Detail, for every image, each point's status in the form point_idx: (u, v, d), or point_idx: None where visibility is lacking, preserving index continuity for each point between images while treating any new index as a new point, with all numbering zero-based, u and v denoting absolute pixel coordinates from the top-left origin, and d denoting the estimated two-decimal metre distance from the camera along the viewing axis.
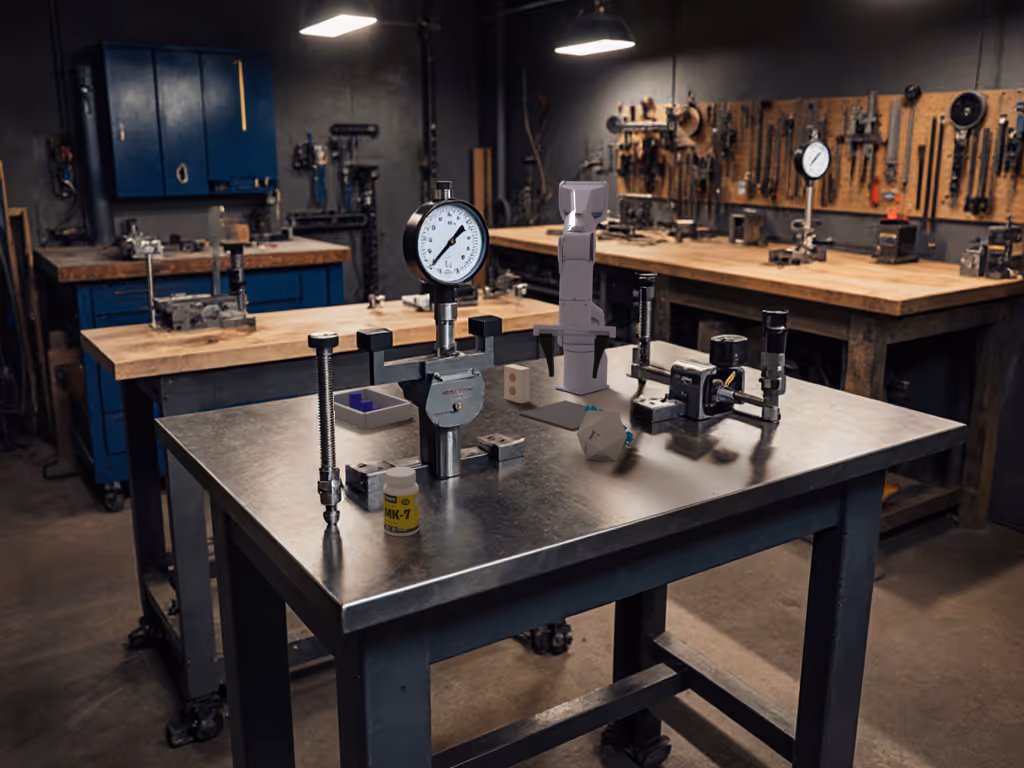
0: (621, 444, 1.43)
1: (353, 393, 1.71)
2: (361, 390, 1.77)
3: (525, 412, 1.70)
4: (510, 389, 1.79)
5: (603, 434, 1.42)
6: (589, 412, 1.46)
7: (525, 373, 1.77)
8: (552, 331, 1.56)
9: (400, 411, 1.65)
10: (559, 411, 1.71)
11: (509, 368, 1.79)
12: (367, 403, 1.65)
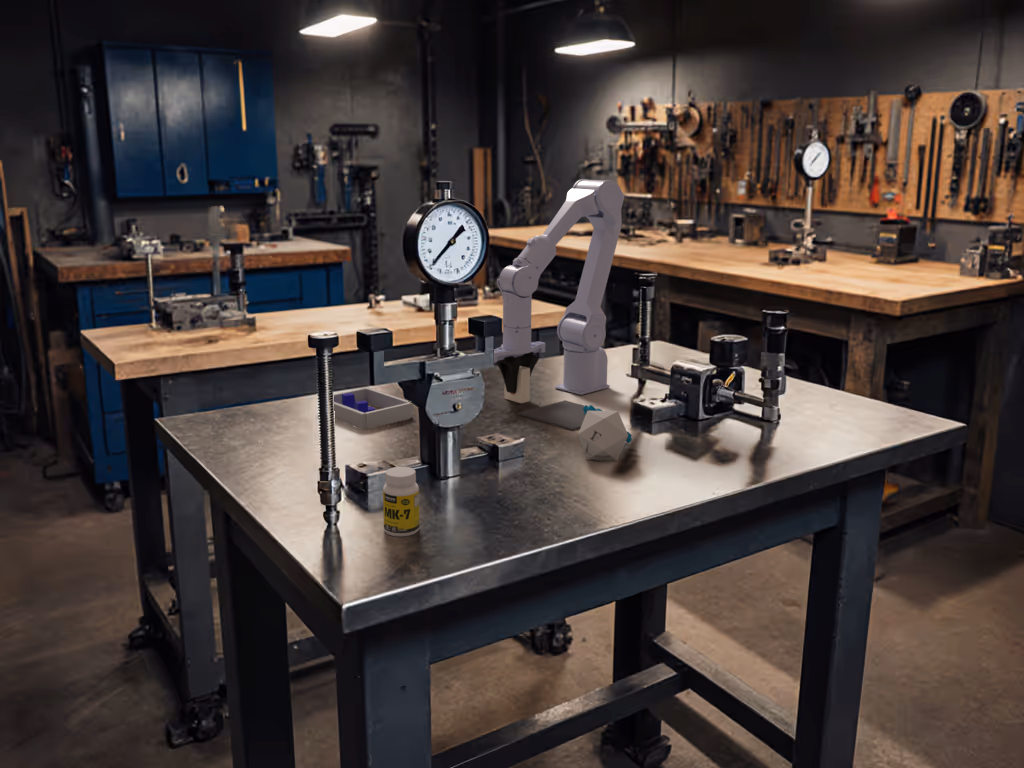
0: (622, 444, 1.43)
1: (346, 394, 1.70)
2: (361, 390, 1.77)
3: (525, 412, 1.70)
4: None
5: (605, 434, 1.42)
6: (589, 412, 1.46)
7: (525, 373, 1.77)
8: None
9: (400, 411, 1.65)
10: (559, 411, 1.71)
11: None
12: (362, 404, 1.64)
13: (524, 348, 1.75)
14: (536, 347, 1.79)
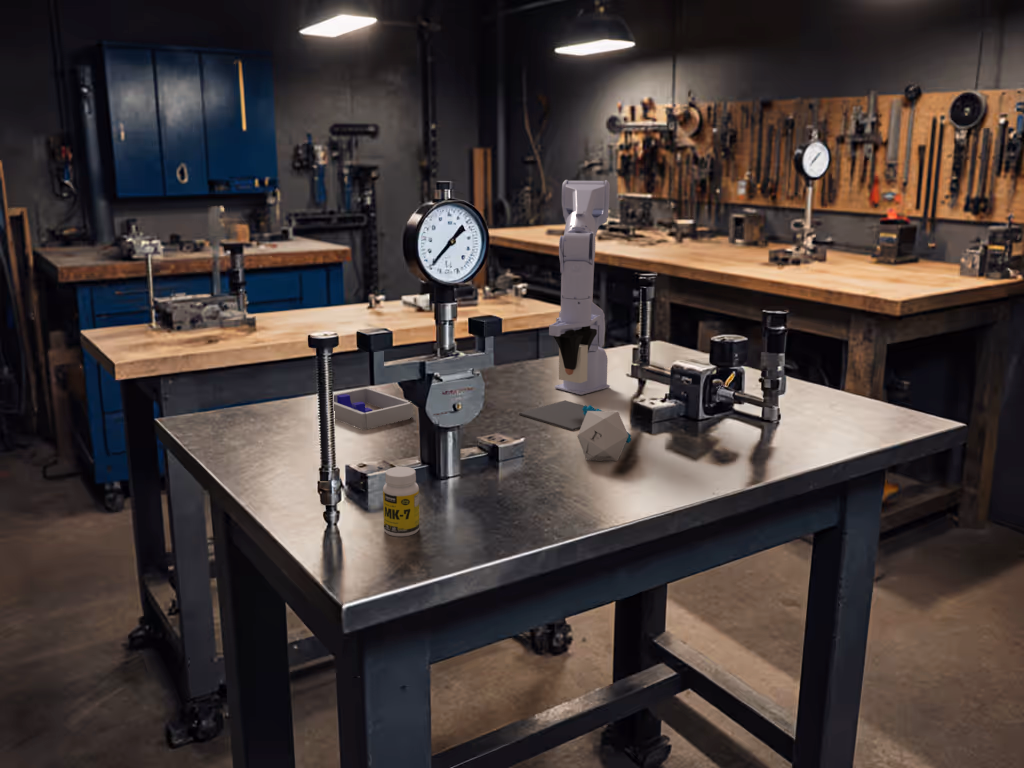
0: (623, 444, 1.43)
1: (342, 396, 1.69)
2: (361, 390, 1.77)
3: (525, 412, 1.70)
4: None
5: (605, 435, 1.42)
6: (589, 413, 1.45)
7: (584, 350, 1.66)
8: None
9: (400, 411, 1.65)
10: (559, 411, 1.71)
11: None
12: (360, 405, 1.64)
13: (586, 320, 1.64)
14: (594, 320, 1.68)
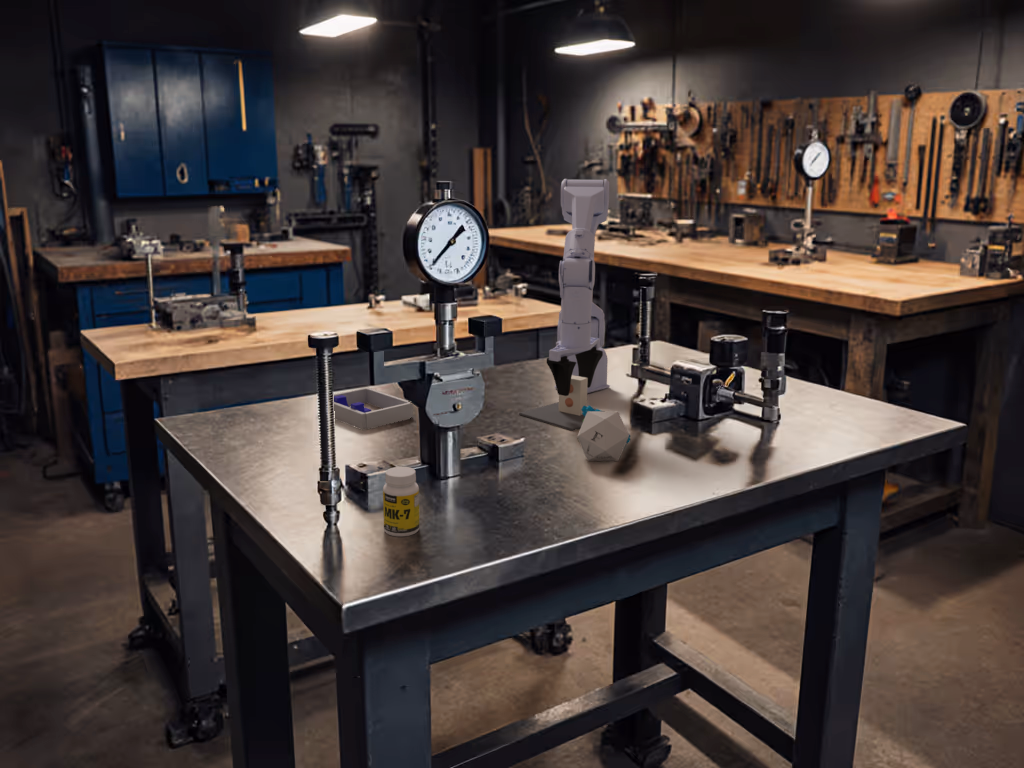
0: (623, 444, 1.43)
1: (338, 397, 1.68)
2: (361, 390, 1.77)
3: (525, 412, 1.70)
4: (566, 401, 1.70)
5: (606, 435, 1.42)
6: (589, 413, 1.45)
7: (584, 383, 1.68)
8: None
9: (400, 411, 1.65)
10: (559, 411, 1.71)
11: None
12: (359, 405, 1.63)
13: (585, 345, 1.65)
14: (594, 343, 1.69)
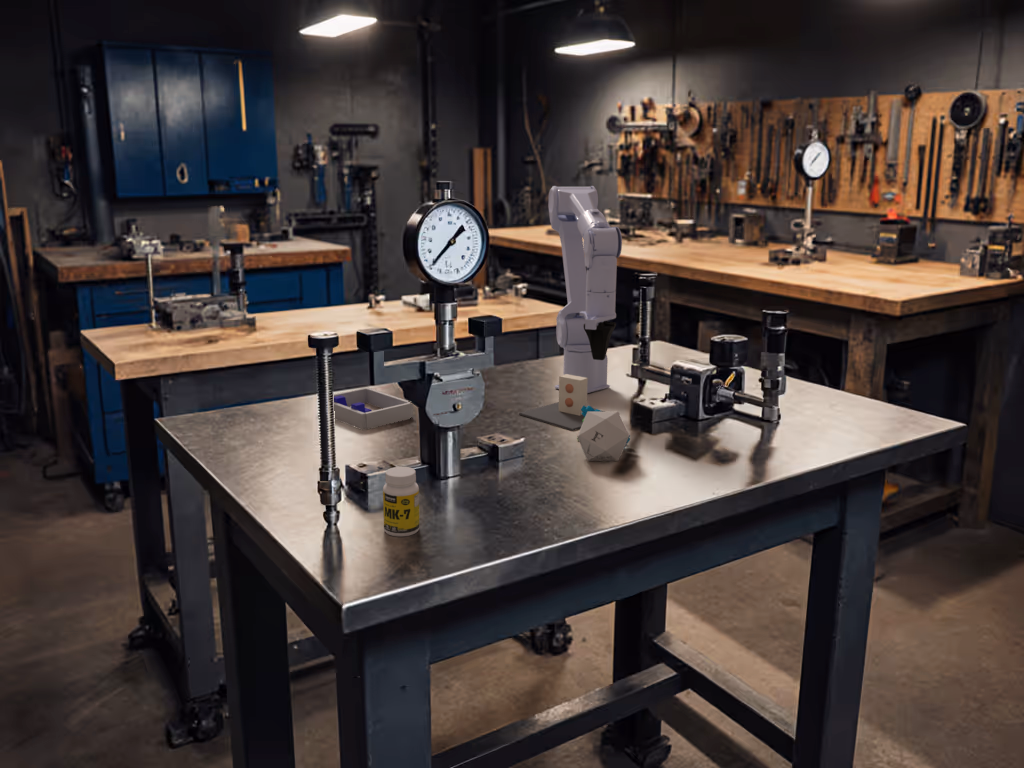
0: (624, 444, 1.43)
1: (337, 397, 1.68)
2: (361, 390, 1.77)
3: (525, 412, 1.70)
4: (566, 401, 1.70)
5: (607, 435, 1.41)
6: (589, 413, 1.45)
7: (584, 383, 1.68)
8: None
9: (400, 411, 1.65)
10: (559, 411, 1.71)
11: (565, 378, 1.69)
12: (360, 406, 1.63)
13: (613, 313, 1.69)
14: None
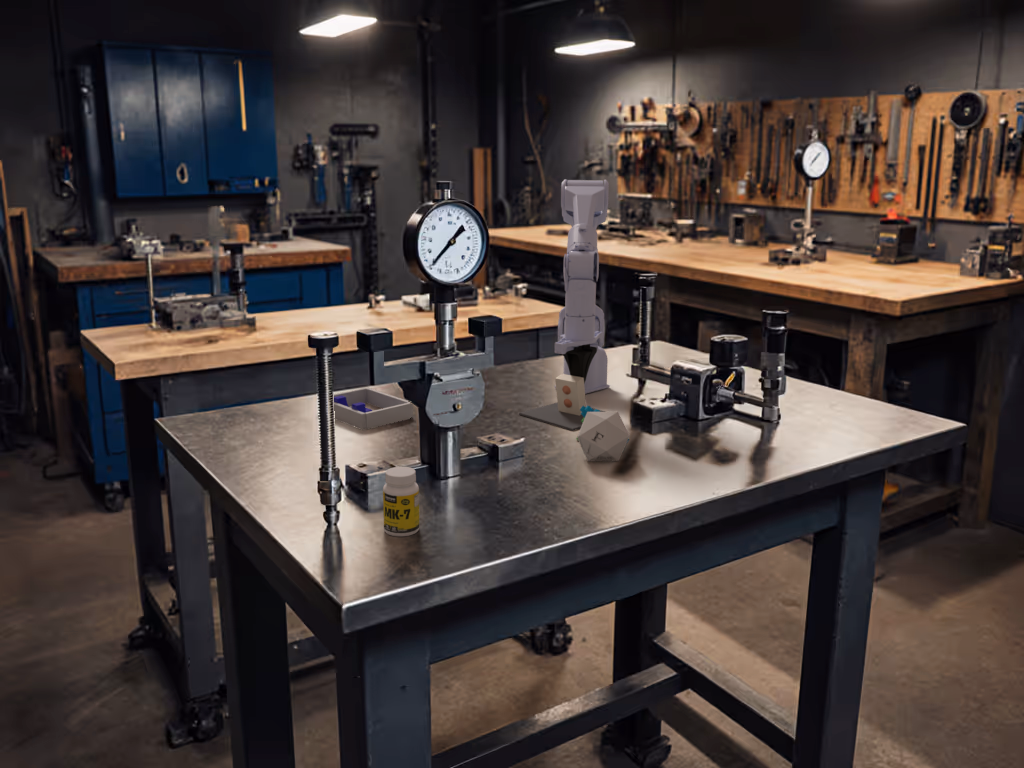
0: (624, 444, 1.43)
1: (338, 397, 1.68)
2: (361, 390, 1.77)
3: (525, 412, 1.70)
4: (565, 402, 1.69)
5: (607, 435, 1.41)
6: (589, 413, 1.45)
7: (580, 384, 1.67)
8: None
9: (400, 411, 1.65)
10: (559, 411, 1.71)
11: (561, 381, 1.68)
12: (360, 406, 1.63)
13: (590, 338, 1.66)
14: (597, 337, 1.70)
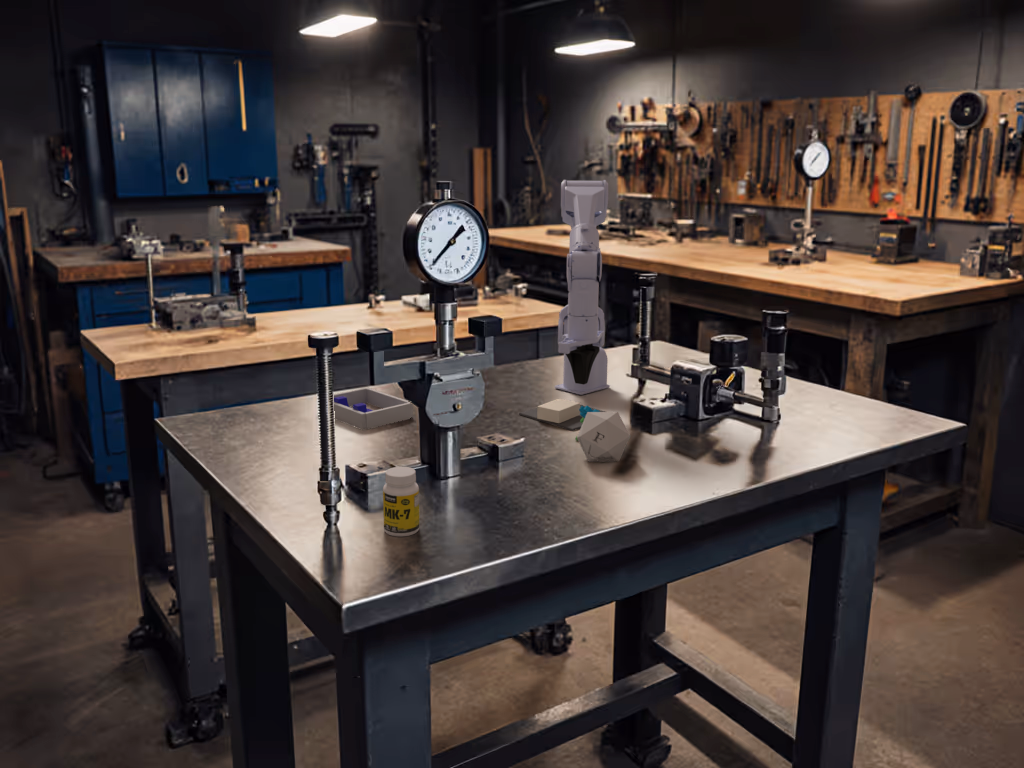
0: (625, 444, 1.43)
1: (338, 398, 1.68)
2: (361, 390, 1.77)
3: (525, 412, 1.70)
4: None
5: (608, 435, 1.41)
6: (590, 414, 1.45)
7: (561, 416, 1.63)
8: None
9: (400, 411, 1.65)
10: None
11: None
12: (362, 406, 1.63)
13: (593, 337, 1.66)
14: (600, 336, 1.70)
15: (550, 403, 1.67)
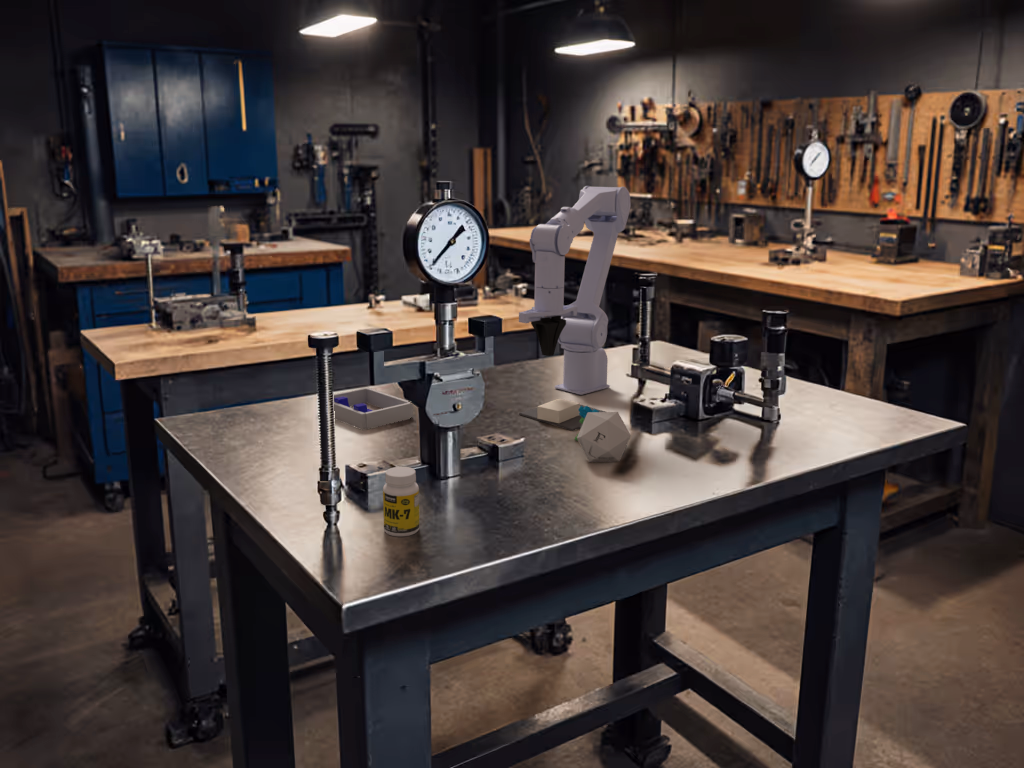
0: (625, 444, 1.43)
1: (339, 398, 1.67)
2: (361, 390, 1.77)
3: (525, 412, 1.70)
4: None
5: (609, 436, 1.41)
6: (590, 414, 1.45)
7: (561, 416, 1.63)
8: None
9: (400, 411, 1.65)
10: None
11: None
12: (362, 407, 1.63)
13: (557, 309, 1.69)
14: (568, 310, 1.73)
15: (550, 403, 1.67)
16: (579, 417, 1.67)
